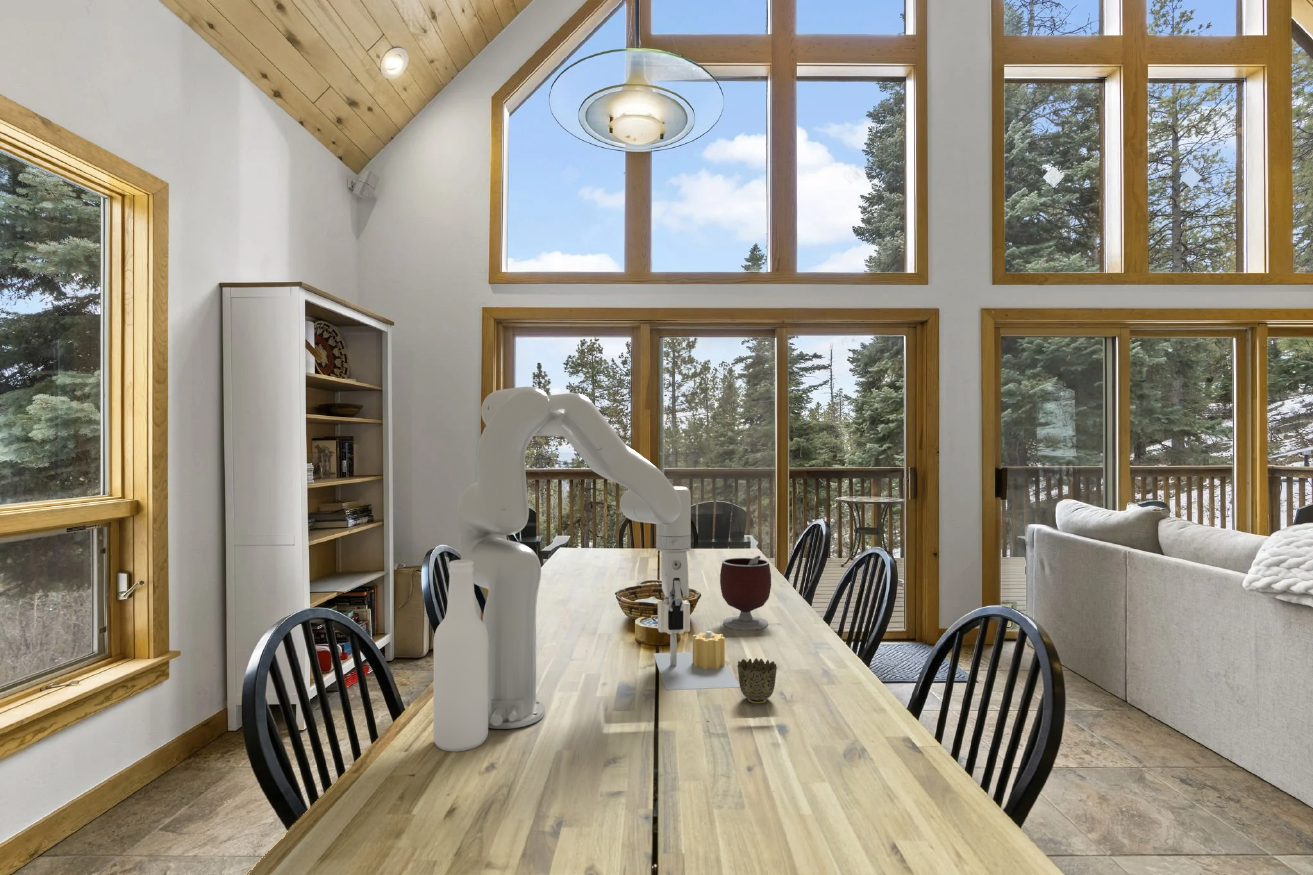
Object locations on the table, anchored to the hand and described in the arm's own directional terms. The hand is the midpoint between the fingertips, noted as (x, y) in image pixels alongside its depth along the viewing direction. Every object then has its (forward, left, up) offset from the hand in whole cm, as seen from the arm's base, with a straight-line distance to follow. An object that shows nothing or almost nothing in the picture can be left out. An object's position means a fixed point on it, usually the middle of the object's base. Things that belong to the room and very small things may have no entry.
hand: (673, 624), depth 154 cm
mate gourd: (+36, -25, -10) cm, 45 cm away
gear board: (-3, -4, -10) cm, 11 cm away
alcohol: (-32, +40, -10) cm, 52 cm away
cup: (-22, -13, -10) cm, 28 cm away
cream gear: (0, 0, -1) cm, 1 cm away
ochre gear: (0, -8, -9) cm, 12 cm away
